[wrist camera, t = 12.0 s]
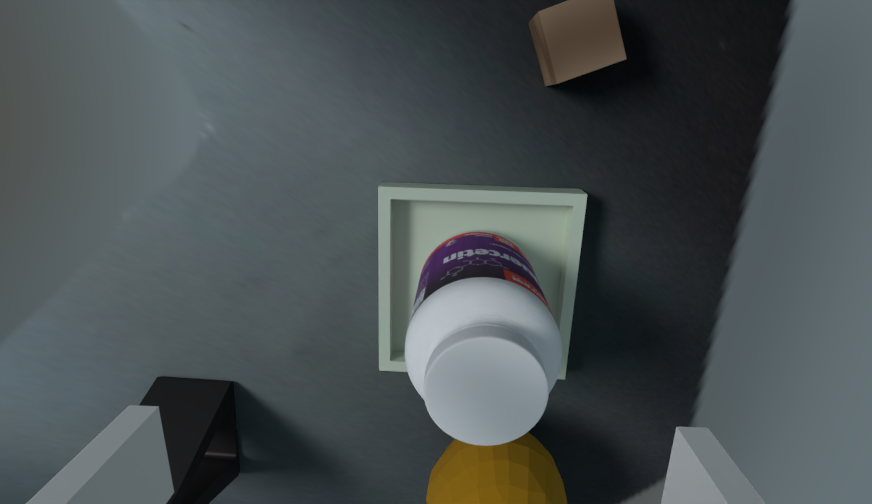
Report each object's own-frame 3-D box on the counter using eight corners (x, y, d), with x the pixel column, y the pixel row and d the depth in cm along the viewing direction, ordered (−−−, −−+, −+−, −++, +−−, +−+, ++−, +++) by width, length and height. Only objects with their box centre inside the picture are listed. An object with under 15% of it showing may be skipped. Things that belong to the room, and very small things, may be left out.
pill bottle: (547, 242, 34) (608, 335, 20) (513, 342, 36) (547, 487, 23) (435, 213, 34) (420, 287, 20) (408, 315, 36) (378, 445, 22)
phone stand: (240, 472, 42) (157, 611, 30) (171, 466, 42) (63, 603, 30) (233, 379, 39) (140, 494, 28) (160, 374, 39) (37, 485, 28)
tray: (382, 181, 34) (378, 186, 32) (579, 188, 34) (587, 194, 32) (383, 356, 38) (379, 370, 36) (559, 364, 37) (565, 379, 35)
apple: (450, 373, 38) (448, 486, 27) (568, 406, 39) (613, 530, 27) (417, 472, 41) (403, 610, 30) (527, 501, 41) (553, 649, 30)
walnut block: (528, 23, 31) (538, 11, 27) (590, -1, 30) (610, -16, 26) (545, 86, 32) (557, 83, 28) (605, 64, 31) (626, 59, 27)
